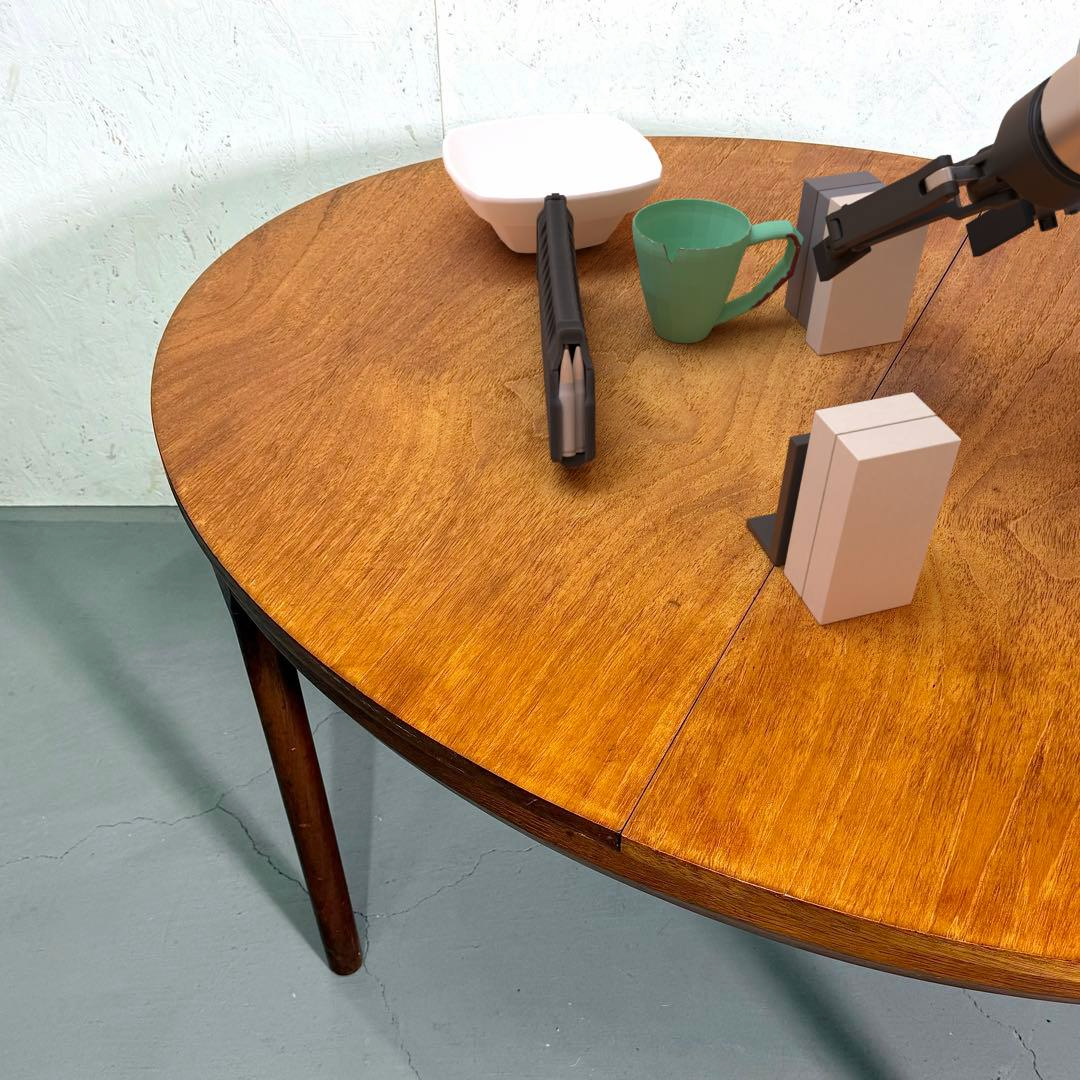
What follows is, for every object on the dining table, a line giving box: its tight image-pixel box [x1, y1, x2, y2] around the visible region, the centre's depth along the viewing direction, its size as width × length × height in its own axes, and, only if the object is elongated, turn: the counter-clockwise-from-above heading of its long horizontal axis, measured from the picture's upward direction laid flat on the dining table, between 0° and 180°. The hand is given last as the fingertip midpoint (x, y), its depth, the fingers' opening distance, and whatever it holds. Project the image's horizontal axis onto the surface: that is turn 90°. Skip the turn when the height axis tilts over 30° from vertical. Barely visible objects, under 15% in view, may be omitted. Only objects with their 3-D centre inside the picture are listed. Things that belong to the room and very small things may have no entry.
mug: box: [631, 197, 804, 344], centre depth 91 cm, size 15×10×10 cm
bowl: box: [441, 113, 664, 254], centre depth 106 cm, size 21×21×9 cm
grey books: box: [783, 170, 888, 331], centre depth 92 cm, size 6×5×12 cm
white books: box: [745, 391, 962, 626], centre depth 67 cm, size 7×10×13 cm
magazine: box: [535, 193, 597, 469], centre depth 86 cm, size 17×3×30 cm
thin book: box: [804, 191, 930, 356], centre depth 88 cm, size 8×2×13 cm, turn 107°
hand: (897, 252), depth 83 cm, fingers open, 13 cm apart
